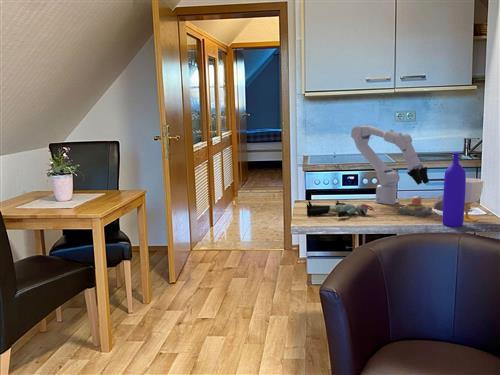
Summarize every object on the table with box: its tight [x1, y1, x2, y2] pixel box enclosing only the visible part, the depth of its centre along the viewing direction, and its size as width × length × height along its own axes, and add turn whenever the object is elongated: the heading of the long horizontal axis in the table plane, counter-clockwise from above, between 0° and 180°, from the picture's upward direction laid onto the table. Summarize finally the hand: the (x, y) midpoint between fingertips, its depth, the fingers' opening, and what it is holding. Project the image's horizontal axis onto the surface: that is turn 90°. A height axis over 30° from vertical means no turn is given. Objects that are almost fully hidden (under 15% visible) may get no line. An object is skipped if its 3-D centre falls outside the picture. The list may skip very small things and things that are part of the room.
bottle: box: [442, 151, 467, 228], centre depth 209 cm, size 8×8×30 cm
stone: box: [433, 194, 472, 212], centre depth 241 cm, size 17×10×10 cm
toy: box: [306, 198, 375, 218], centre depth 235 cm, size 26×8×30 cm
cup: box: [463, 177, 484, 222], centre depth 220 cm, size 12×12×17 cm
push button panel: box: [398, 203, 433, 218], centre depth 233 cm, size 12×9×4 cm
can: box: [411, 195, 422, 204], centre depth 244 cm, size 4×4×6 cm
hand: (423, 183), depth 241 cm, fingers open, 7 cm apart
